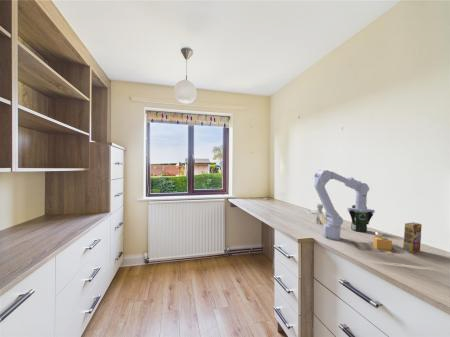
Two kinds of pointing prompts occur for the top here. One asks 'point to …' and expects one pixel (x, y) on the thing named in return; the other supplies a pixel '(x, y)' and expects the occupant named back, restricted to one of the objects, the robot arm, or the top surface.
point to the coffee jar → (359, 221)
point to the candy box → (412, 237)
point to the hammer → (320, 215)
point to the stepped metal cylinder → (378, 234)
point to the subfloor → (373, 248)
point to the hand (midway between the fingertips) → (360, 223)
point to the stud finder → (382, 243)
